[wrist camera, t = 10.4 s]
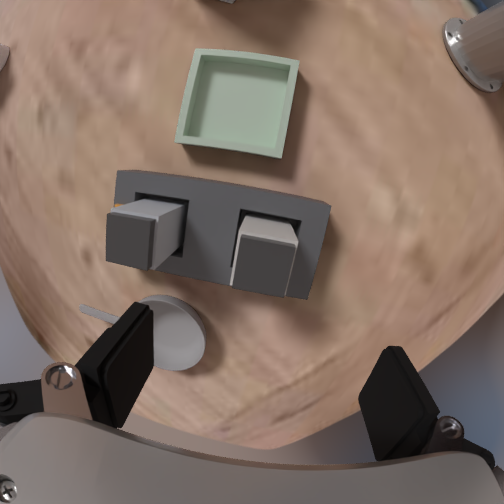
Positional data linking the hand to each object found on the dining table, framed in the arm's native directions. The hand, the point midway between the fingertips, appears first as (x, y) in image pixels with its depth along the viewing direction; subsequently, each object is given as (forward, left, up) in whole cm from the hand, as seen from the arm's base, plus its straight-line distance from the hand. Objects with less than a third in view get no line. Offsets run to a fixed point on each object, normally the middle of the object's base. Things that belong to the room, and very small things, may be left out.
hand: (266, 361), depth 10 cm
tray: (+6, -14, -22) cm, 26 cm away
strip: (+6, 0, -22) cm, 22 cm away
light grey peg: (+11, 0, -21) cm, 23 cm away
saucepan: (+14, +14, -22) cm, 30 cm away
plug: (0, 0, -21) cm, 21 cm away
